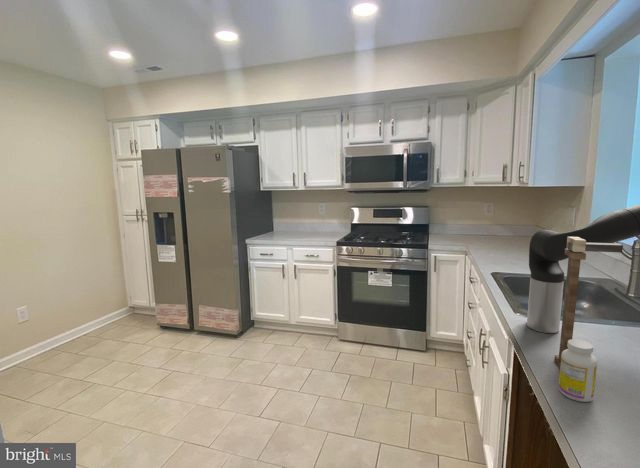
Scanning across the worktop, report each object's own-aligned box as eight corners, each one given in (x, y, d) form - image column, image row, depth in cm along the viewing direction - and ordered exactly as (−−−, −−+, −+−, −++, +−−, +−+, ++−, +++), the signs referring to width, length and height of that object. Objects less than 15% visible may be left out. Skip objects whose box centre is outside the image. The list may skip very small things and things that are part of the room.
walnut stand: (554, 359, 95) (565, 248, 89) (564, 360, 94) (576, 248, 89) (562, 371, 89) (574, 253, 84) (573, 372, 88) (586, 253, 83)
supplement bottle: (577, 385, 83) (583, 336, 81) (600, 402, 77) (607, 350, 75) (551, 386, 83) (555, 337, 81) (572, 403, 76) (577, 351, 74)
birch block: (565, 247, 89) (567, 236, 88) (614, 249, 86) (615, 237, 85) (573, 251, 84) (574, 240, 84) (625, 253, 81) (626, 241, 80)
